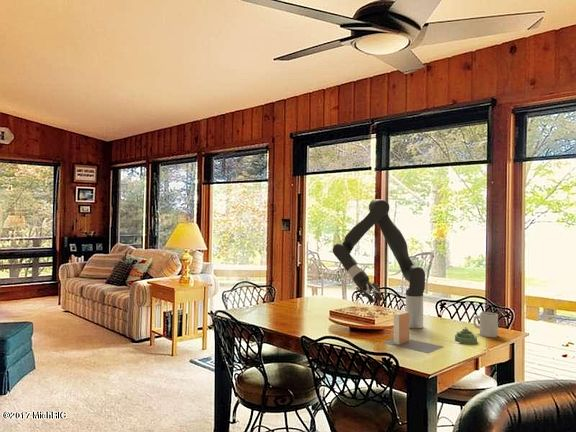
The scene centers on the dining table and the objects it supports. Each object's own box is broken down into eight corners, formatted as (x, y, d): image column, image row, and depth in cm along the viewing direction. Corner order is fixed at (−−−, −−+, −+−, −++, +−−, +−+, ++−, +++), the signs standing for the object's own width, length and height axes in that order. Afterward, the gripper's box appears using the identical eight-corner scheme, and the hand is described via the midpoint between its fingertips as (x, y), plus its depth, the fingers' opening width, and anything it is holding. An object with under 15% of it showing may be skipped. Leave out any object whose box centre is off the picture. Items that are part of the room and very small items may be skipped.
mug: (500, 335, 235) (500, 313, 235) (494, 338, 229) (494, 316, 229) (476, 331, 244) (476, 310, 244) (470, 334, 237) (470, 312, 237)
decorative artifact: (480, 341, 224) (461, 337, 231) (480, 327, 224) (461, 323, 231) (470, 345, 217) (451, 341, 224) (470, 330, 217) (451, 326, 224)
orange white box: (393, 343, 218) (393, 313, 218) (403, 339, 224) (403, 310, 224) (399, 344, 216) (399, 314, 216) (409, 341, 222) (409, 311, 222)
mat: (381, 344, 219) (381, 342, 219) (398, 338, 230) (398, 336, 230) (428, 354, 202) (428, 353, 202) (444, 347, 213) (444, 346, 213)
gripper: (353, 271, 231) (373, 298, 223) (370, 269, 241) (390, 294, 233) (345, 281, 235) (364, 307, 227) (362, 278, 245) (381, 303, 237)
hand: (377, 301), depth 230 cm, fingers open, 6 cm apart
